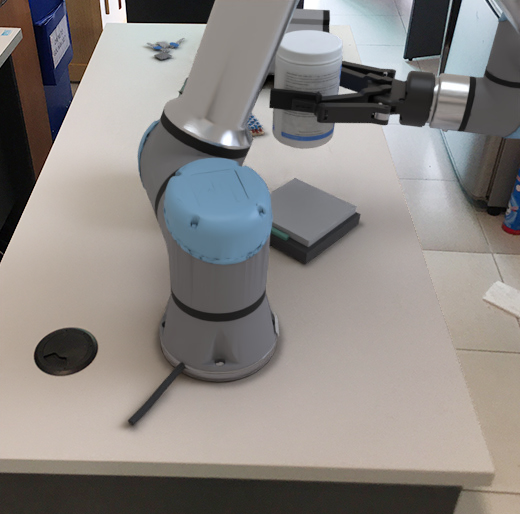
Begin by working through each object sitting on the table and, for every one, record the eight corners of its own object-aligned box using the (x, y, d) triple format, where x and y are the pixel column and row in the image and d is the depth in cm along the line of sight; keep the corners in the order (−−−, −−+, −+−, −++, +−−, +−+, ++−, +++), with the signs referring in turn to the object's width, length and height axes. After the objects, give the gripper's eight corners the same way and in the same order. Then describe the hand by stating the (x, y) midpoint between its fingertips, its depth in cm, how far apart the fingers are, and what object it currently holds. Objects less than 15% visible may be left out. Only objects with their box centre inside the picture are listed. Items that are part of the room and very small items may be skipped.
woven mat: (214, 144, 120) (214, 134, 119) (198, 119, 128) (198, 110, 127) (265, 136, 123) (266, 126, 122) (247, 112, 130) (247, 103, 129)
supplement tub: (345, 140, 98) (359, 44, 88) (297, 157, 94) (307, 59, 84) (305, 116, 103) (314, 24, 94) (258, 131, 100) (263, 37, 90)
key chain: (169, 61, 149) (168, 58, 149) (136, 58, 151) (136, 54, 150) (185, 40, 159) (185, 36, 159) (154, 37, 161) (153, 34, 160)
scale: (305, 264, 94) (307, 247, 92) (236, 226, 101) (236, 209, 99) (358, 224, 101) (361, 207, 99) (290, 191, 108) (292, 175, 106)
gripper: (423, 162, 85) (260, 141, 89) (426, 93, 100) (287, 78, 104) (437, 109, 79) (263, 90, 84) (438, 46, 95) (291, 32, 99)
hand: (276, 83), depth 94 cm, fingers closed on supplement tub, 9 cm apart
